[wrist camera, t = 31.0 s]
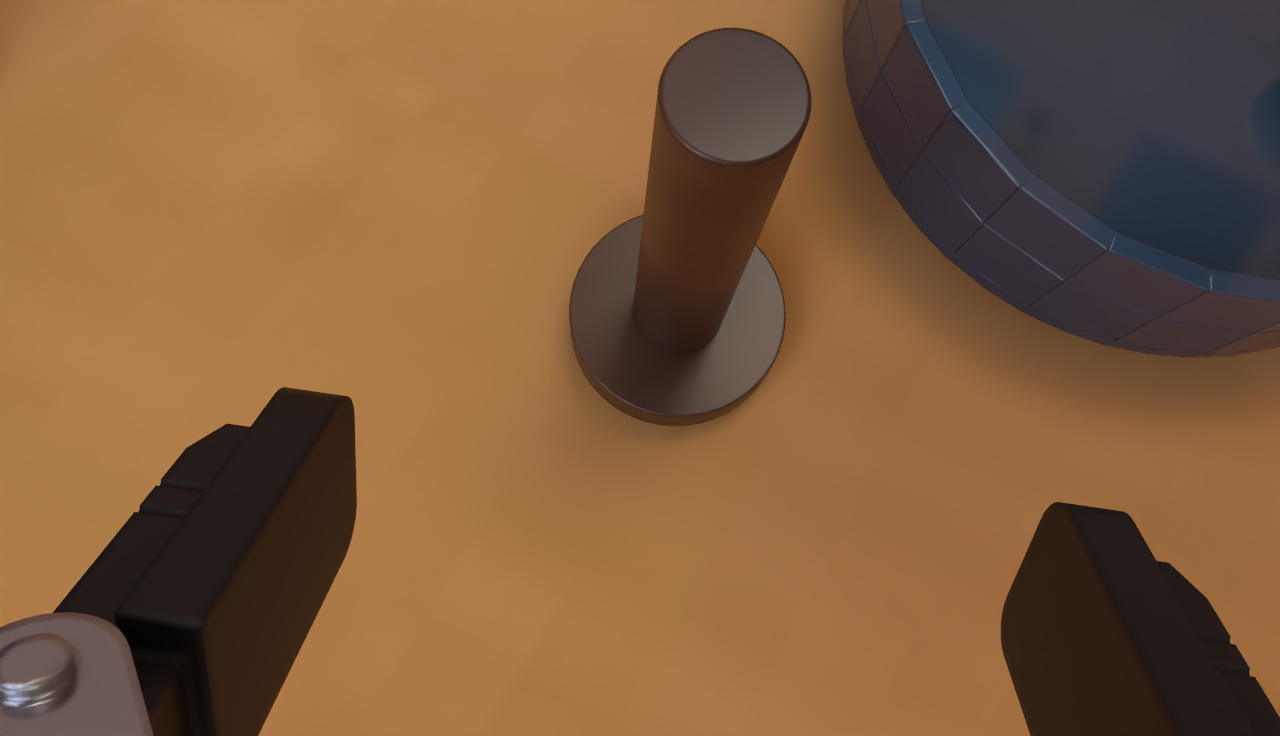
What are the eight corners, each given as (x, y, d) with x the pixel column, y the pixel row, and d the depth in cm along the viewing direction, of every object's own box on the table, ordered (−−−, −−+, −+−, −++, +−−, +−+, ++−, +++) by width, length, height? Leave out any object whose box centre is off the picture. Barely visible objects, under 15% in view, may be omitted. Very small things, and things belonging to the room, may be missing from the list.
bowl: (813, 304, 29) (858, 239, 24) (868, -238, 33) (916, -389, 28) (1476, 403, 29) (1663, 358, 24) (1435, -153, 34) (1583, -287, 29)
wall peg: (555, 410, 28) (519, 239, 15) (587, 214, 29) (580, -91, 16) (765, 441, 28) (905, 296, 15) (786, 244, 29) (931, -38, 16)
